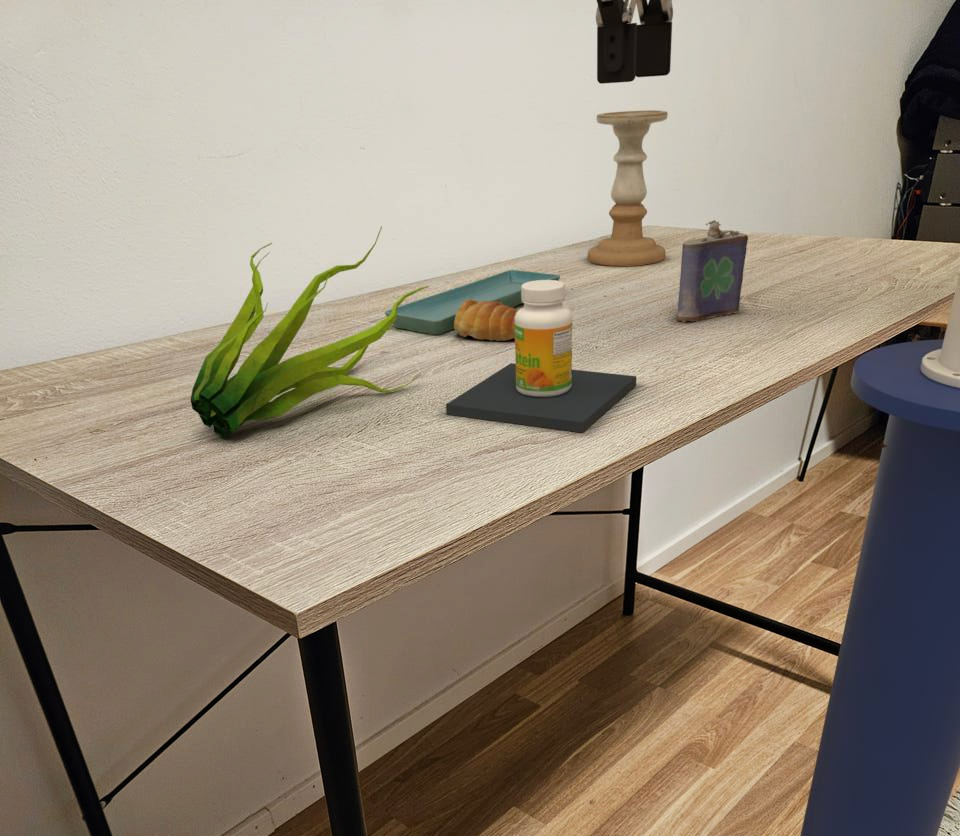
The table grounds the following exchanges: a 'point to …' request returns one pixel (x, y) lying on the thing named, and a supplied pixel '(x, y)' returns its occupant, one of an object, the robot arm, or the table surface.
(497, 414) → the mat
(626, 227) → the candle holder
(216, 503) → the table surface
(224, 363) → the decorative plant
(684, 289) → the flask
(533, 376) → the supplement bottle
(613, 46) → the robot arm
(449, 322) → the teal serving tray
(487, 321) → the pastry
